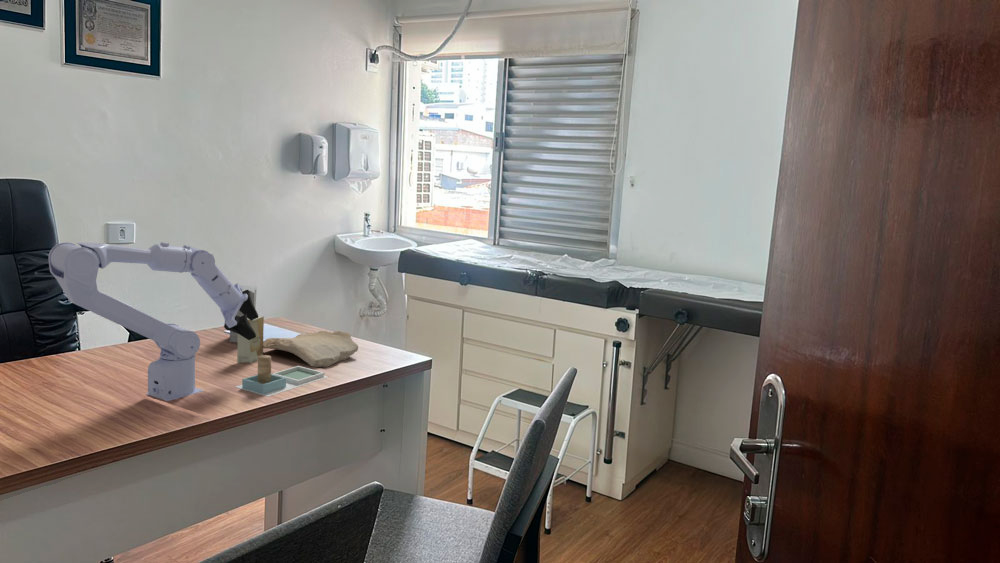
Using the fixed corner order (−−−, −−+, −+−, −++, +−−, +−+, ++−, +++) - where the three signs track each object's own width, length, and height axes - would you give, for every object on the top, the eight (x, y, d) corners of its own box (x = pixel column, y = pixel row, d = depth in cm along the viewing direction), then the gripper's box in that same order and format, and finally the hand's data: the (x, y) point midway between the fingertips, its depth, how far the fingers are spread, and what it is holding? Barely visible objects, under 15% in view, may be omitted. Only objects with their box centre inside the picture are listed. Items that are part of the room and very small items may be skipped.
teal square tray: (263, 394, 164) (263, 385, 164) (242, 388, 168) (242, 379, 167) (286, 386, 170) (286, 378, 170) (265, 381, 174) (265, 372, 173)
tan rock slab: (305, 344, 215) (251, 350, 198) (308, 320, 214) (254, 324, 197) (365, 363, 202) (312, 371, 186) (368, 337, 202) (315, 344, 185)
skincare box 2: (251, 365, 187) (251, 320, 185) (236, 363, 188) (236, 318, 186) (264, 359, 194) (264, 315, 192) (249, 357, 194) (249, 313, 192)
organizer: (267, 399, 163) (267, 392, 163) (234, 389, 168) (234, 382, 168) (328, 378, 180) (328, 372, 180) (296, 370, 185) (297, 364, 185)
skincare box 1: (232, 336, 215) (232, 284, 213) (257, 336, 217) (257, 285, 214) (228, 343, 207) (228, 290, 204) (254, 343, 209) (254, 290, 206)
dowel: (263, 390, 167) (264, 359, 166) (254, 387, 168) (255, 357, 167) (273, 387, 170) (273, 356, 168) (264, 384, 171) (264, 354, 170)
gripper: (232, 300, 161) (266, 340, 169) (238, 265, 172) (269, 303, 180) (204, 313, 161) (239, 352, 169) (212, 276, 173) (245, 314, 181)
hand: (253, 327), depth 175 cm, fingers open, 7 cm apart
